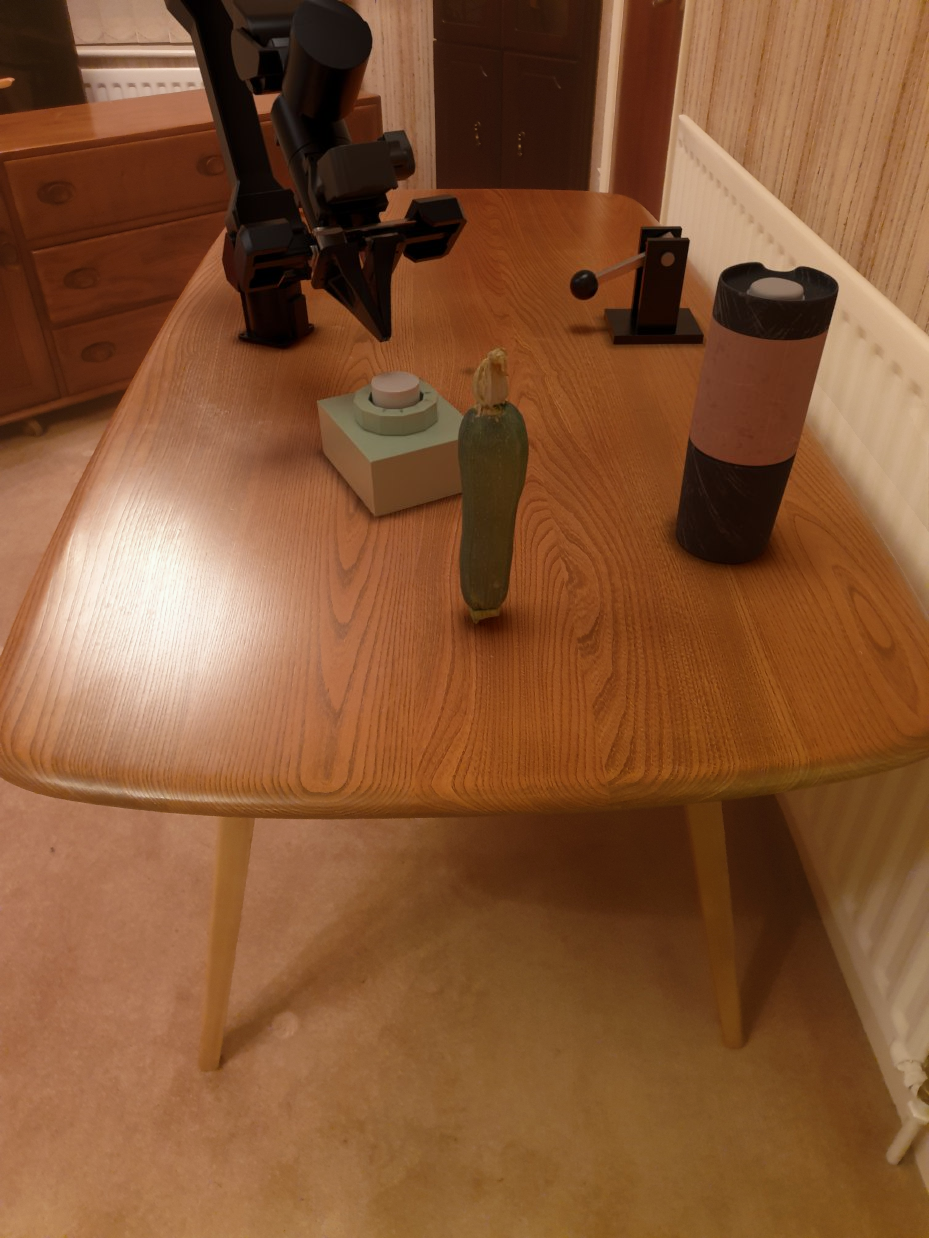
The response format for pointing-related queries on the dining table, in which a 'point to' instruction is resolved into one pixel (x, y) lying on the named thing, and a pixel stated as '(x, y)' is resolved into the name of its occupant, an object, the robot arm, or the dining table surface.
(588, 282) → the lever
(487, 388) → the vegetable
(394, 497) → the push button box
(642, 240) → the bracket
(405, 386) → the pink push button
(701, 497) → the travel mug
